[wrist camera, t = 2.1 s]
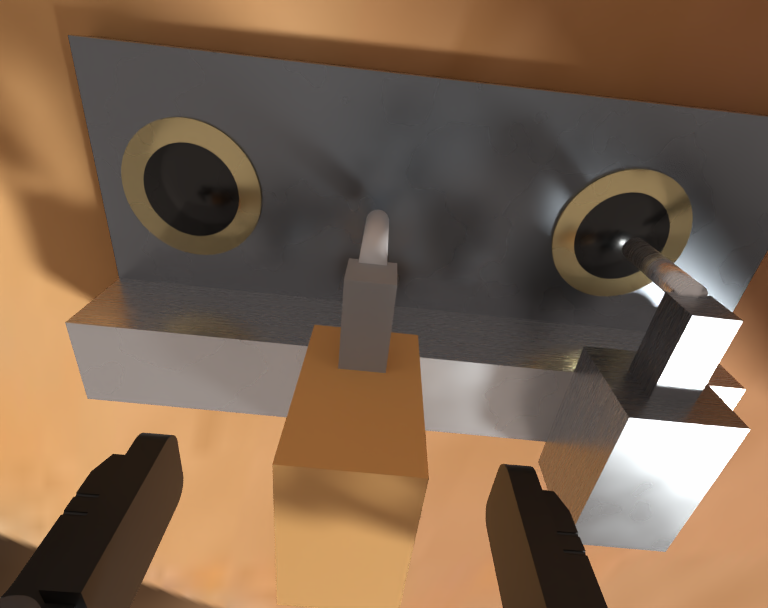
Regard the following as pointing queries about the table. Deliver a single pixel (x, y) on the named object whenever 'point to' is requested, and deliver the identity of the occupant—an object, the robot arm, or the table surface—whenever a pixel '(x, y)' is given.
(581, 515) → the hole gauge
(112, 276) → the table surface
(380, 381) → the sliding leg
